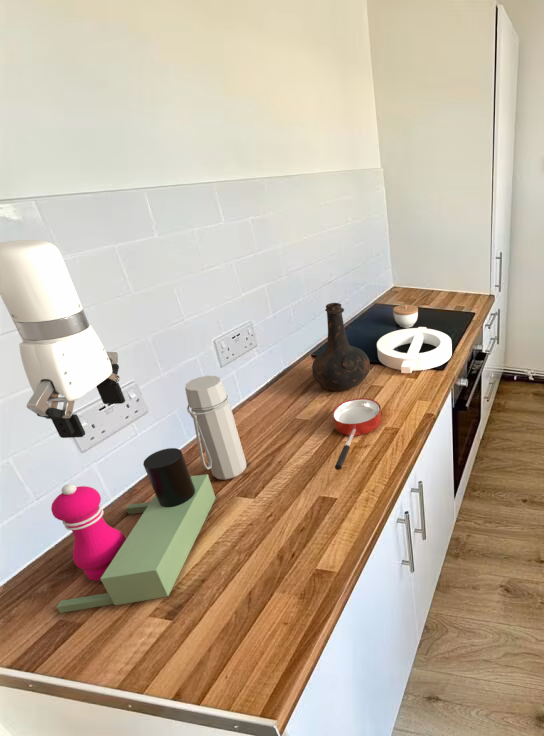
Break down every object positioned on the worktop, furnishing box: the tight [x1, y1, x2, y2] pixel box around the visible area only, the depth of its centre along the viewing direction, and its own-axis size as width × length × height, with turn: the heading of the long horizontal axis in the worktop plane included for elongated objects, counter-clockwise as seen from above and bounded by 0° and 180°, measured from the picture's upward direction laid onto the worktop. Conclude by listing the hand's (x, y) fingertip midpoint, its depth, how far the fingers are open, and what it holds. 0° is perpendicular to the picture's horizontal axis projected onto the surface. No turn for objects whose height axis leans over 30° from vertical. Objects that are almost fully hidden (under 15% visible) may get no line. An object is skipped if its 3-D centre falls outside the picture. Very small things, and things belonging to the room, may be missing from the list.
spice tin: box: [142, 447, 195, 507], centre depth 86 cm, size 6×6×10 cm
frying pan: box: [332, 397, 383, 471], centre depth 116 cm, size 32×13×6 cm, turn 14°
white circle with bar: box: [376, 326, 453, 374], centre depth 166 cm, size 28×28×5 cm
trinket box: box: [392, 304, 419, 329], centre depth 190 cm, size 11×11×9 cm
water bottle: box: [184, 375, 247, 481], centre depth 99 cm, size 9×8×25 cm
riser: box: [55, 473, 216, 614], centre depth 83 cm, size 16×24×7 cm, turn 14°
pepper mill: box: [50, 483, 127, 582], centre depth 77 cm, size 7×7×20 cm
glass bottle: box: [311, 302, 371, 392], centre depth 138 cm, size 18×18×28 cm
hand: (95, 418), depth 73 cm, fingers open, 9 cm apart
